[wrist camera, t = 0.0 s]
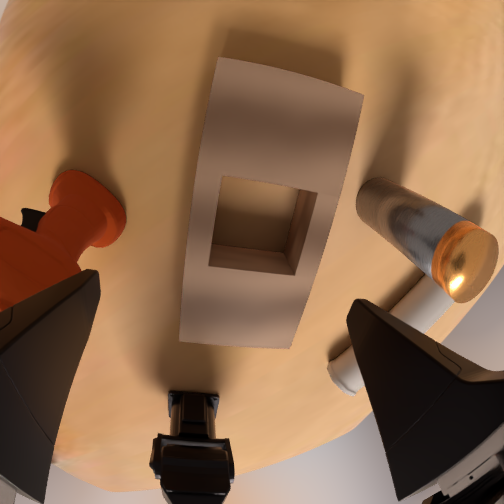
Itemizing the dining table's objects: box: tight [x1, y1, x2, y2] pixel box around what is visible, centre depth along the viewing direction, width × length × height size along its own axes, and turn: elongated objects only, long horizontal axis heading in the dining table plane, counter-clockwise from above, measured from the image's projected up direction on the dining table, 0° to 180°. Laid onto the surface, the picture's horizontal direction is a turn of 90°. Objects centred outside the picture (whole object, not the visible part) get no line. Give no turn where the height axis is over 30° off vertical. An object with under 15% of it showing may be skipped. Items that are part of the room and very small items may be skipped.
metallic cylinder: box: [356, 178, 498, 303], centre depth 19 cm, size 5×5×13 cm
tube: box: [327, 274, 455, 396], centre depth 29 cm, size 5×5×25 cm
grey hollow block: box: [179, 57, 364, 349], centre depth 22 cm, size 22×10×4 cm, turn 169°
